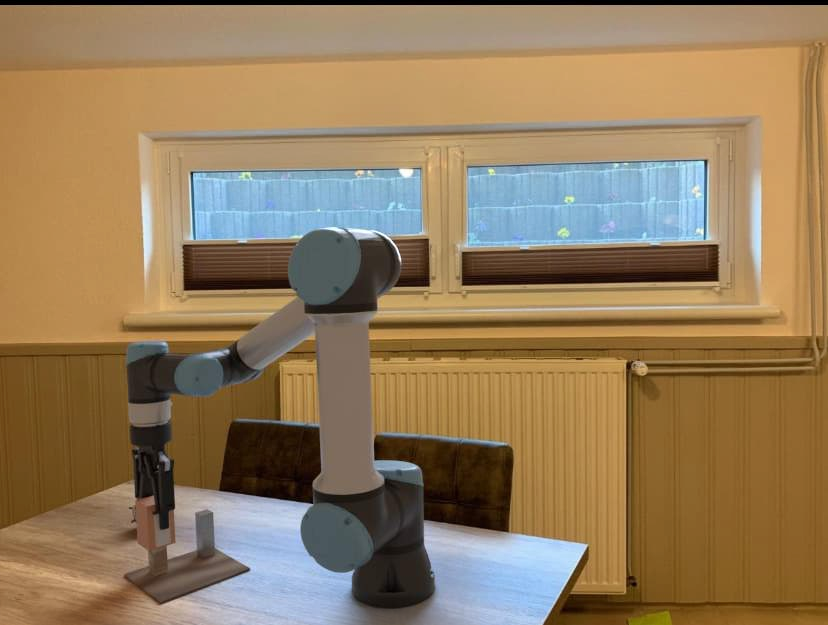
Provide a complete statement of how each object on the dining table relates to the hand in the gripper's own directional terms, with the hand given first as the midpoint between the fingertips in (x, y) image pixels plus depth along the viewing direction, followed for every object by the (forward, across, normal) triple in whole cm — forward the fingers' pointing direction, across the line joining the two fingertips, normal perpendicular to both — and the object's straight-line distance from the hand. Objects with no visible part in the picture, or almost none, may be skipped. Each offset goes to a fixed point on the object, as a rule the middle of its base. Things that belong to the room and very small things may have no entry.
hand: (156, 540), depth 131 cm
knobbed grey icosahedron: (+7, +24, -9) cm, 27 cm away
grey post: (+7, 0, -10) cm, 12 cm away
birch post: (+7, 0, 0) cm, 7 cm away
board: (+7, -4, -4) cm, 9 cm away
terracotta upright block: (+1, 0, 0) cm, 1 cm away
